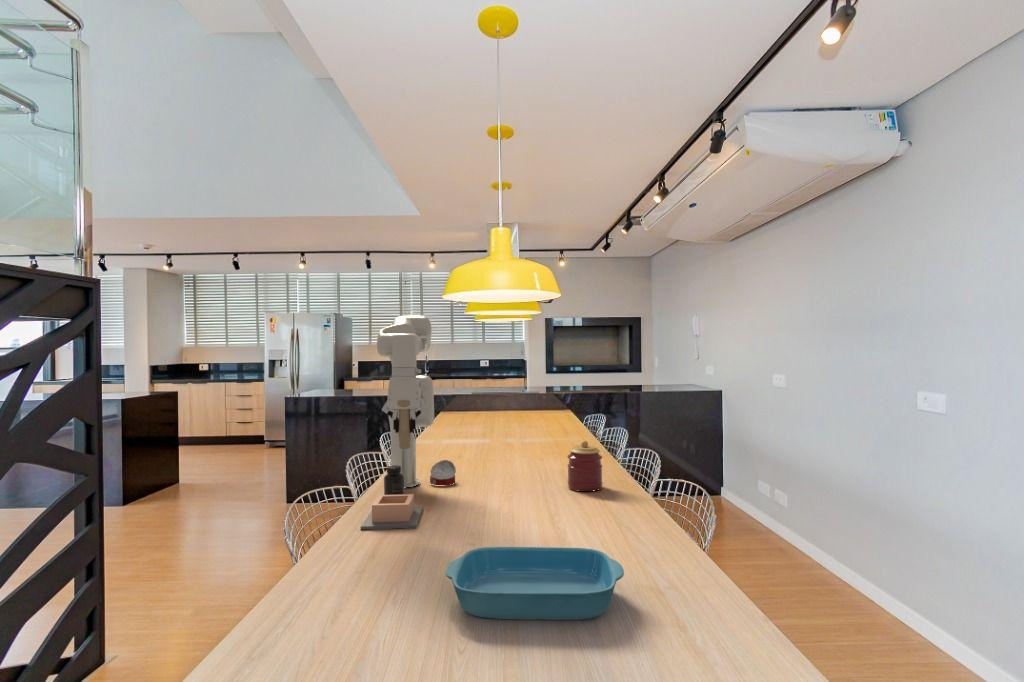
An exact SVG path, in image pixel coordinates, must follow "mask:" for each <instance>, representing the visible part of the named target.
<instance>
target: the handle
mask: <svg viewBox="0 0 1024 682" xmlns="http://www.w3.org/2000/svg"><path fill="white" fill-rule="evenodd" d="M409 405H410V401H398V406H400V407H407V406H409ZM398 436H399V443H400V444H399V447H400V449H408V448H410V441H411V432H410V410H406V409H402V410H399V426H398Z"/></svg>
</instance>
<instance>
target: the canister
mask: <svg viewBox="0 0 1024 682" xmlns="http://www.w3.org/2000/svg"><path fill="white" fill-rule="evenodd" d="M569 452H570V453H569V454H568V455H567V458H568V464H567V466H566V467H567V475H568V476H567V485H568V486H567V488H568V489H569V488H570V490H571V489H573V490H572V491H574V490H579V491H593V490H598V489H601V488H602V489H603V483H604V482H603V464H602V461H601V460H602V458H603V456H602V455H601V454H600V452H601V450H600V449H599V448H598V447H596V446H595V445H589V443H588V441H587V440H582V441H581V443H580V445H574V446H573V447H571V448H570V449H569ZM602 489H601V490H602ZM579 491H578V492H579Z"/></svg>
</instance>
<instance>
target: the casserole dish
mask: <svg viewBox="0 0 1024 682" xmlns="http://www.w3.org/2000/svg"><path fill="white" fill-rule="evenodd" d="M624 575H625V570H624V568H623V566H622V564H621V563H620V562H619V561H617V560H615V559H614V558H611V557H610V556H608V555H607V554H606V553H605V552H603V551H600V550H597V549H593V548H585V547H584V548H583V547H548V546H547V547H544V546H543V547H542V546H541V547H540V546H537V547H536V546H534V547H533V546H524V547H523V546H485V547H478V548H473V549H470V550H468V551H466V552H465V553H464V554H463V555H462V556H460V557H458V558H456V559H454V560H452V561H451V562H449V563H448V565H447V567H446V569H445V576H446V577H447V578H448V579H450V580H452V585H453V588H454V591H455V594H456V597H457V599H458V602H459V604H460V606H461V608H462V609H463V610H464V611H465V612H467V613H468V614H469V615H472V616H475V617H478V618H485V619H486V618H487V619H497V620H498V619H501V620H503V619H504V620H531V619H532V620H535V619H546V620H545V621H579V620H580V621H581V620H582V621H583V620H591V619H595V618H597V617H599V616H601V615H602V614H604V613H605V612H606V611H607V610H608V608H609V606H610V604H611V601H612V599H613V594H614V591H615V588H616V587H615V586H616V583H617V581H619V580H621V579H622V578H623V577H624Z"/></svg>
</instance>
